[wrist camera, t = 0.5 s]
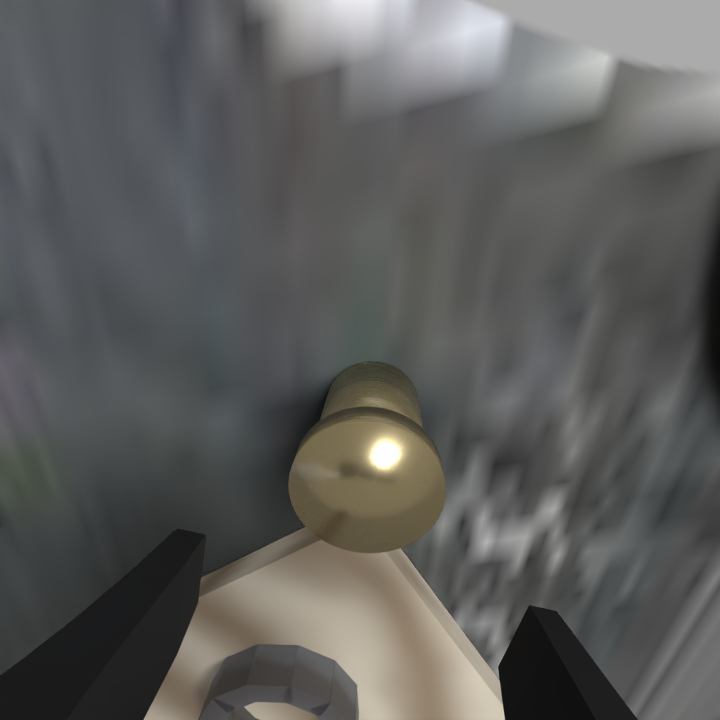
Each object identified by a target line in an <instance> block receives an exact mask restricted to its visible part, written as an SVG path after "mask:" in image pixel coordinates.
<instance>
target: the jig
mask: <svg viewBox="0 0 720 720" xmlns="http://www.w3.org/2000/svg"><path fill="white" fill-rule="evenodd" d="M144 720H505V716H504V709H503V702H502V695H501V686H500V681H499V680H498V678H497V677H496V676H495V674H494V673H493V672H492V670H491V669H490V668H489V666H488V665H487V663H486V662H485V661H484V659H483V658H482V657H481V655H480V654H479V653H478V651H477V650H476V649H475V647H474V646H473V645H472V643H471V642H470V641H469V639H468V638H467V637H466V635H465V634H464V633H463V631H462V630H461V629H460V627H459V626H458V625H457V623H456V622H455V621H454V619H453V618H452V617H451V615H450V614H449V613H448V611H447V610H446V609H445V607H444V606H443V605H442V603H441V602H440V601H439V599H438V598H437V597H436V595H435V594H434V592H433V591H432V590H431V588H430V587H429V586H428V584H427V583H426V582H425V580H424V579H423V578H422V576H421V575H420V574H419V572H418V571H417V570H416V568H415V567H414V566H413V564H412V563H411V562H410V560H409V559H408V558H407V556H406V555H405V554H404V552H403V551H402V550H401V548H400V549H397V550H393V551H389V552H382V553H358V552H352V551H347V550H344V549H340V548H338V547H335V546H333V545H330V544H328V543H327V542H325V541H323V540H321V539H320V538H318V537H317V536H315V535H314V534H313V533H312V532H311V531H310V530H308V529H307V527H304V528H302V529H300V530H298V531H296V532H294V533H292V534H290V535H287V536H285V537H283V538H281V539H279V540H277V541H275V542H273V543H271V544H269V545H267V546H265V547H263V548H261V549H259V550H257V551H255V552H253V553H250V554H248V555H246V556H244V557H242V558H240V559H238V560H236V561H234V562H232V563H230V564H228V565H226V566H224V567H222V568H220V569H218V570H216V571H213V572H211V573H209V574H207V575H205V576H203V577H201V582H200V591H199V600H198V604H197V607H196V609H195V612H194V614H193V617H192V619H191V622H190V624H189V627H188V629H187V632H186V634H185V637H184V639H183V641H182V644H181V646H180V649H179V651H178V654H177V656H176V658H175V660H174V662H173V664H172V666H171V668H170V670H169V671H168V673H167V675H166V677H165V679H164V681H163V683H162V685H161V687H160V689H159V691H158V693H157V695H156V697H155V699H154V701H153V702H152V704H151V706H150V708H149V710H148V712H147V714H146V716H145V718H144Z"/></svg>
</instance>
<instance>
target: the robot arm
mask: <svg viewBox="0 0 720 720" xmlns="http://www.w3.org/2000/svg"><path fill="white" fill-rule="evenodd" d="M205 539H206V535H204V534H199V533H195V532H190V531H186V530H181V529H177V530H175V531H173V532H172V533H171V534H170V535H169V536H168V537H167V538H166V539H165V540H164V541H163V542H162V543H161V544H160V545H158V546H157V547H156V548H155V549H154V550H153V551H152V552H151V553H150V554H149V555H148V556H147V557H146V558H144V559H143V560H142V561H141V562H140V563H139V564H138V565H137V566H136V567H134V568H133V569H132V570H131V571H130V572H129V573H128V574H127V575H125V576H124V577H123V578H122V579H121V580H120V581H119V582H118V583H116V584H115V585H114V586H113V587H112V588H110V589H109V590H108V591H107V592H106V593H104V594H103V595H102V596H101V597H100V598H99V599H97V600H96V601H95V602H94V603H93V604H91V605H90V606H89V607H88V608H87V609H86V610H84V611H83V612H82V613H81V614H80V615H78V616H77V617H76V618H75V619H73V620H72V621H71V622H70V623H68V624H67V625H66V626H64V627H63V628H62V629H61V630H59V631H58V632H57V633H56V634H54V635H53V636H52V637H50V638H49V639H48V640H47V641H45V642H44V643H43V644H41V645H40V646H39V647H38V648H36V649H35V650H34V651H32V652H31V653H30V654H29V655H27V656H26V657H25V658H23V659H22V660H21V661H19V662H18V663H17V664H15V665H14V666H13V667H11V668H10V669H9V670H7V671H6V672H5V673H3V674H2V675H0V720H144V718H145V716H146V714H147V712H148V710H149V708H150V706H151V704H152V702H153V701H154V699H155V697H156V695H157V693H158V691H159V689H160V687H161V685H162V683H163V681H164V679H165V677H166V675H167V673H168V671H169V670H170V668H171V666H172V664H173V662H174V660H175V658H176V656H177V654H178V651H179V649H180V646H181V644H182V641H183V639H184V637H185V634H186V632H187V629H188V627H189V624H190V622H191V619H192V617H193V614H194V612H195V609H196V607H197V604H198V600H199V591H200V582H201V574H202V565H203V556H204V547H205ZM498 669H499V678H500V686H501V695H502V702H503V709H504V716H505V720H638V719H637V718H636V717H635V715H634V714H633V713H632V712H631V710H630V709H629V708H628V706H627V705H626V704H625V702H624V701H623V700H622V698H621V697H620V696H619V694H618V693H617V692H616V690H615V689H614V688H613V686H612V685H611V684H610V682H609V681H608V680H607V678H606V677H605V676H604V674H603V673H602V672H601V670H600V669H599V667H598V666H597V665H596V663H595V662H594V661H593V659H592V658H591V657H590V655H589V654H588V653H587V651H586V650H585V649H584V647H583V646H582V644H581V643H580V642H579V640H578V639H577V638H576V636H575V635H574V634H573V632H572V631H571V630H570V628H569V627H568V626H567V624H566V623H565V622H564V620H563V619H562V618H561V617H560V615H559V614H558V613H557V612H556V611H553V610H549V609H544V608H540V607H535V606H530V605H529V607H528V609H527V611H526V613H525V615H524V617H523V619H522V621H521V623H520V625H519V627H518V629H517V631H516V633H515V635H514V637H513V639H512V641H511V643H510V645H509V647H508V649H507V651H506V653H505V655H504V657H503V658H502V660H501V662H500V664H499V666H498Z"/></svg>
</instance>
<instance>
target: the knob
mask: <svg viewBox="0 0 720 720" xmlns="http://www.w3.org/2000/svg"><path fill="white" fill-rule="evenodd" d="M288 486H289V495H290V500H291V503H292V506H293V509H294V510H295V512H296V514H297V516H298V518H299V519H300V520H301V522H302V523H303V524H304V525H305V526H306V527H307V529H308V530H310V531H311V532H312V533H313V534H314V535H315V536H317V537H318V538H320V539H321V540H323V541H325V542H327V543H328V544H330V545H333V546H335V547H338V548H340V549H344V550H347V551H352V552H358V553H382V552H389V551H393V550H397V549H400V548H402V547H405V546H407V545H409V544H411V543H413V542H415V541H416V540H418V539H419V538H421V537H422V536H423V535H424V534H426V533H427V532H428V531H429V530H430V529H431V528H432V526H433V525H434V524H435V523H436V521H437V519H438V518H439V516H440V514H441V512H442V510H443V506H444V503H445V497H446V483H445V478H444V473H443V469H442V464H441V459H440V455H439V452H438V450H437V447H436V445H435V444H434V442H433V440H432V439H431V437H430V436H429V435H428V433H427V432H426V431H425V430H424V429H423V425H422V419H421V413H420V407H419V400H418V395H417V392H416V389H415V387H414V385H413V383H412V382H411V380H410V379H409V378H408V377H407V376H406V375H405V374H404V373H403V372H402V371H401V370H399V369H397V368H396V367H394V366H391V365H389V364H386V363H381V362H363V363H358V364H355V365H352V366H350V367H348V368H347V369H345V370H344V371H342V372H341V373H340V374H339V375H338V376H337V377H336V378H335V380H334V381H333V383H332V384H331V386H330V389H329V392H328V395H327V398H326V402H325V405H324V408H323V411H322V415H321V418H320V421H319V422H317V423H316V424H315V425H314V426H313V427H312V428H311V429H310V430H309V431H308V432H307V433H306V435H305V436H304V438H303V439H302V441H301V443H300V446H299V448H298V450H297V453H296V456H295V459H294V461H293V464H292V467H291V471H290V474H289V482H288Z"/></svg>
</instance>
